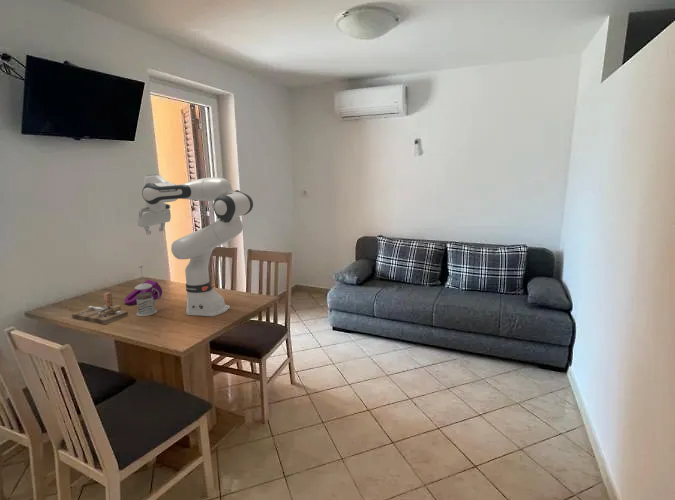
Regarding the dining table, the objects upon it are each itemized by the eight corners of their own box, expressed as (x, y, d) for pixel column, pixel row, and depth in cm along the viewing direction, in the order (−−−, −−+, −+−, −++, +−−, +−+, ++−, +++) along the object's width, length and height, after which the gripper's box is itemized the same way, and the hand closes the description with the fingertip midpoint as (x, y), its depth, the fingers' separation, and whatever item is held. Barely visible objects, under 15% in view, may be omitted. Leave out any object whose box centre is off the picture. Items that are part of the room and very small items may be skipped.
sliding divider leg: (115, 310, 191) (112, 292, 189) (100, 315, 184) (98, 297, 182) (111, 309, 192) (108, 291, 190) (96, 315, 185) (93, 296, 183)
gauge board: (128, 315, 190) (126, 304, 189) (106, 324, 180) (104, 313, 178) (95, 309, 199) (93, 299, 198) (72, 317, 188) (70, 307, 187)
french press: (137, 310, 197) (131, 263, 192) (161, 307, 201) (156, 261, 196) (134, 317, 188) (128, 268, 183) (160, 313, 192) (154, 265, 187)
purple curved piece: (138, 315, 208) (164, 293, 219) (130, 303, 203) (157, 282, 214) (129, 311, 213) (155, 290, 224) (121, 300, 208) (147, 279, 220)
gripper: (144, 209, 184) (145, 237, 188) (172, 205, 204) (173, 230, 207) (133, 208, 186) (135, 235, 189) (162, 203, 205) (163, 228, 209)
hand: (155, 232), depth 198 cm, fingers open, 8 cm apart
